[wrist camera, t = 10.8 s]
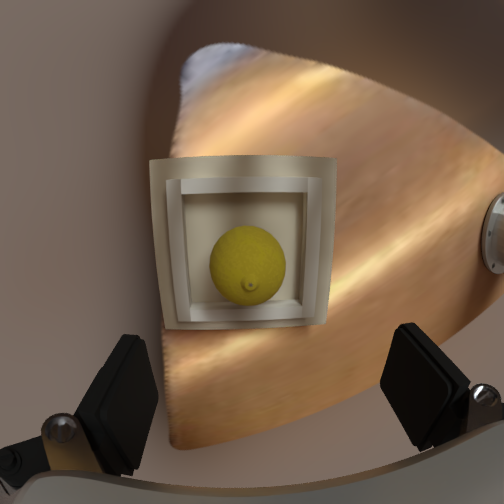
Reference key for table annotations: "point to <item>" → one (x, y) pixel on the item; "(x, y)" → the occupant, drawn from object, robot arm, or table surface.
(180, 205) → the stand
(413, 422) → the robot arm
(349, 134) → the table surface
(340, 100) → the table surface
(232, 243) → the lemon
